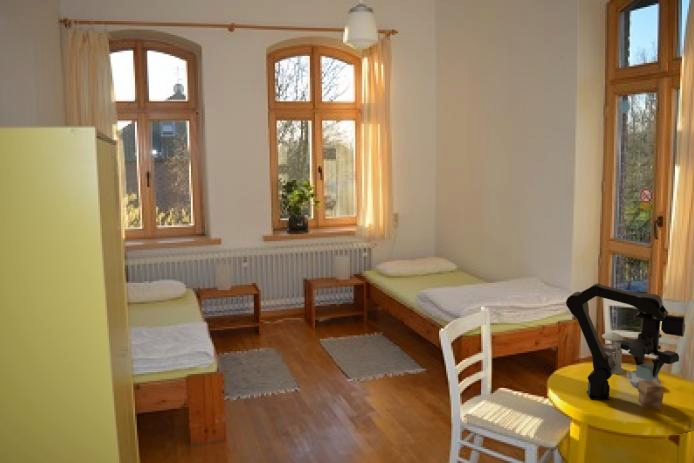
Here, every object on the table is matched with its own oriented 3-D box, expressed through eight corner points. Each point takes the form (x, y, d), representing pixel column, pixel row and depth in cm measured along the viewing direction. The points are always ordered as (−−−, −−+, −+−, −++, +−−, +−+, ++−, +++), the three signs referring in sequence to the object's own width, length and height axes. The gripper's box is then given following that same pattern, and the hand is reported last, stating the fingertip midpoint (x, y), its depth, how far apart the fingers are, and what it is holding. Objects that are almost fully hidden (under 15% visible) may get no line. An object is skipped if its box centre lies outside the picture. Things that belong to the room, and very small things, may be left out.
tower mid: (646, 398, 217) (646, 387, 217) (637, 391, 223) (638, 380, 223) (663, 397, 217) (664, 387, 217) (654, 390, 223) (655, 380, 223)
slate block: (635, 376, 218) (636, 365, 217) (644, 373, 220) (645, 362, 220) (648, 381, 214) (649, 370, 213) (658, 378, 216) (658, 367, 216)
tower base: (643, 408, 218) (644, 397, 218) (638, 401, 224) (639, 390, 224) (661, 409, 218) (662, 398, 217) (656, 402, 223) (656, 391, 223)
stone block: (637, 395, 234) (663, 389, 233) (635, 382, 233) (661, 377, 233) (623, 383, 245) (648, 378, 245) (621, 371, 245) (646, 367, 245)
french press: (617, 364, 259) (621, 306, 255) (630, 375, 247) (634, 314, 243) (593, 364, 259) (597, 306, 255) (605, 375, 247) (609, 314, 243)
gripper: (611, 328, 218) (608, 370, 221) (661, 343, 203) (658, 388, 205) (631, 322, 224) (628, 364, 226) (681, 337, 208) (678, 381, 211)
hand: (647, 374), depth 217 cm, fingers closed on slate block, 5 cm apart
